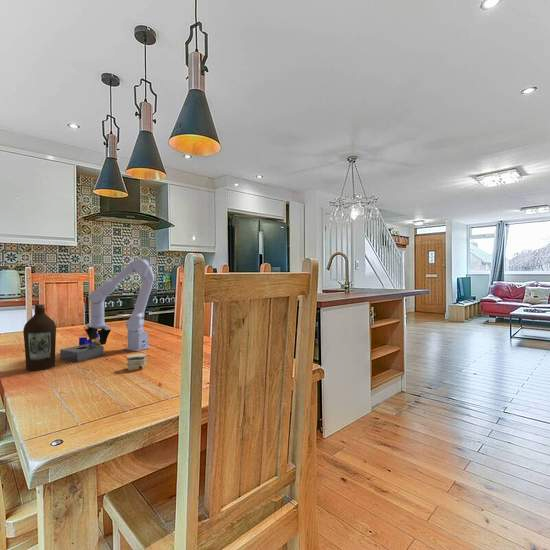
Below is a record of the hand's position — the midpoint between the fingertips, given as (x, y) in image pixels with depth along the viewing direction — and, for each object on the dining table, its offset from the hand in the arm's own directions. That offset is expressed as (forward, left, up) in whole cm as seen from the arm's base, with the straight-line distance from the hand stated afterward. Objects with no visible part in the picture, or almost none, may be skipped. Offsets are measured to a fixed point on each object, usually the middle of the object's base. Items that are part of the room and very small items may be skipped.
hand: (98, 343), depth 157 cm
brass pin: (0, 0, -3) cm, 3 cm away
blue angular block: (+11, -2, -4) cm, 12 cm away
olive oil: (-5, +28, -3) cm, 29 cm away
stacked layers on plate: (-41, +12, -4) cm, 43 cm away
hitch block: (-5, +11, -3) cm, 12 cm away
